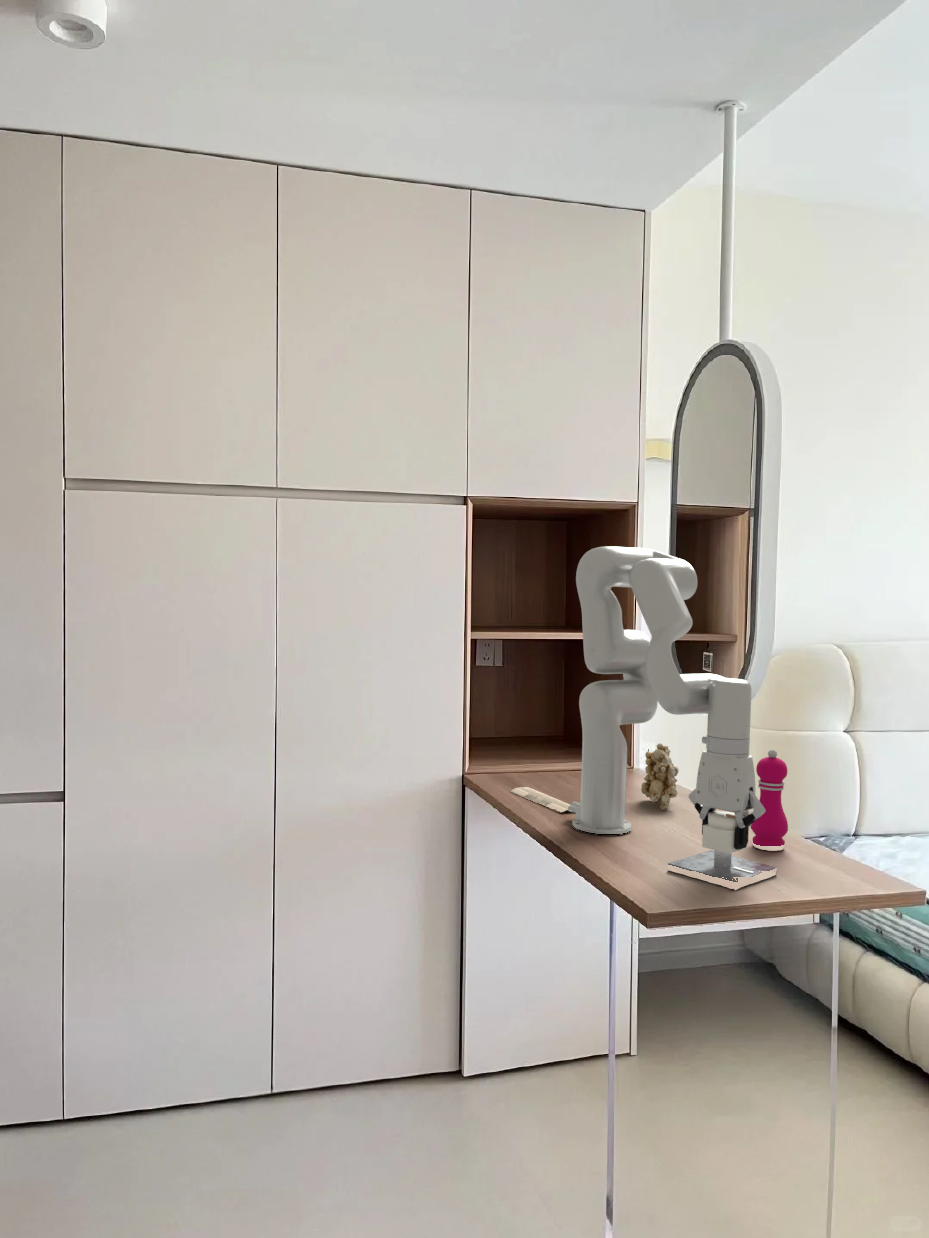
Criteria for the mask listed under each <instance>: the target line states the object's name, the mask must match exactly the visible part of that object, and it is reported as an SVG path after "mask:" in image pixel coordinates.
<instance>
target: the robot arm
mask: <svg viewBox="0 0 929 1238" xmlns="http://www.w3.org/2000/svg"><path fill="white" fill-rule="evenodd" d="M575 575H576V576H575V584H576V589H577V593H578V598H579V603H580V608H581V617H582V618H581V620H582V621H581V623H582V642H583V643H582V644H583V656H584V663H585V665H586V668H587V669H588V670H589V671H590V672H592V673H595V674H601V675H612V674H613V675H617V674H618V675H619V674H620V675H623V679H608V680H598V681H597V680H596V681H594V682H590V683H589V684H588V685H586V686H585V687H584V688H583V689H582V690H581V692H580V694H579V700H578V706H579V713H580V719H581V720H580V722H581V728H582V729H581V730H582V743H581V744H582V748H581V773H580V774H581V777H580V778H581V779H580V780H581V781H580V802H578V801H575V800H574V801H572V802H571V803H570V806H569V807H568V810H567V811H568V812H571V813H575V814H576V815H575V818H574V819H573V820H572V823H571V824H572V825H573V826H574V827H575V828H578V829H580V830H583V831H587V832H590V833H596V834H595V835H597V834H620V835H624V834H623V833H626V834H628V833H630V832H631V831H632V829H633V824H632V823H631V822H630V821H628V820H627V819H626V801H627V800H626V799H627V795H626V794H627V776H628V775H627V774H628V773H627V771H628V744H627V740H626V738H625V735H624V734H623V731H622V730H621V726H622V725H635V724H636V725H637V724H643V723H647V722H649V721H650V720H652V719H653V717H654V716H655V714H656V711H657V708H658V704H659V705H660V706H661V708H662V709H663V710H664V711H666V712H667V713H669V714H671V715H676V716H677V715H679V716H680V715H681V716H683V715H695V714H699V715H701V714H707V726H706V727H707V728H706V730H707V731H706V736H702V737H701V743H702V744H705V745H706V747H705V748H706V750H703V751H702V753H701V757H700V760H699V765H698V769H697V776H696V786H695V788H694V790H692V791H691V792H690V793H689V794H688V795H687V796H688V799H689V800H690V802H691V803H692V805H693V806H694V808H695V810H696V811H697V813H698V814H699V818H700V820H702V821H701V823H702V824H701V835H702V836H703V825H706V824H708V813H710V812H716V810H719V811H723V812H732V813H735V817H736V820H737V824H738V827H736V828H735V839H734V848H735V849H737V850H739V849H743V848H746V849H747V846H748V844H749V830H750V828H749V827H751V825H752V823H753V822H755V821H756V820H757V819H758V818H759V817H760V816H761V815H763V814H764V813H765V812H766V810H765V808H764V807H763V805H762V804H761V802H760V801H759V800H760V799H759V798H758V797H757V795H756V793H757V791H756V773H755V765H754V760H753V756H752V755H750V742H751V741H750V740H751V739H750V738H751V713H752V712H751V710H752V686H751V683H750V682H749V681H748V680H746V679H742V678H736V677H735V678H734V677H733V678H732V677H731V678H730V677H725V676H723V675H719V674H714V673H679V671H678V668H677V666H676V663H675V661H674V658H673V654H672V645H673V643H674V642H675V641H677V640H679V639H681V638H683V637H685V635H686V634H687V633H688V632H689V631H690V630H691V628H692V627H693V623H694V622H693V618H692V616H691V614H690V612H689V609H688V607H687V605H686V603H685V600H686V601H687V600H689V599H691V598H692V597H693V596H694V594H696V591H697V588H698V575H697V573H696V570H695V569H694V567H693V566H692V565H691V564H690V563H689V562H688V561H686V560H685V559H682V558H680V557H679V558H678V557H677V556H673V555H670V554H667V553H664V552H661V551H658V550H655V549H651V548H645V547H627V546H616V545H615V546H612V545H611V546H610V545H609V546H607V545H605V546H599V547H595V548H591V549H590V550H588V551H586V552H585V553H584V554H583V556H582V557H581V558H580V559H579V562H578V564H577V568H576V573H575ZM613 587H615V588H616V587H617V588H631V590H632V593H633V595H634V597H635V600H636V602H637V605H638V607H639V610H640V613H641V614H642V617H643V619H644V621H645V625H646V627H647V629H648V631H649V634H650V637H649V636H648V635H647V634H646V633H645V632H643V631H641V630H637V629H624V625H623V611H622V610H623V609H622V607H621V604H620V602H619V600H618V598H617V596H616V595H615V593H614V592H613V590H612V588H613ZM749 810H752V812H751V813H750V812H749ZM572 825H571V826H572ZM573 826H572V827H573ZM574 827H573V828H574ZM575 828H574V829H575ZM629 831H630V832H629ZM627 832H628V833H627ZM590 833H589V834H590ZM743 850H744V849H743Z"/></svg>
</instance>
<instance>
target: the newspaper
mask: <svg viewBox="0 0 929 1238" xmlns="http://www.w3.org/2000/svg"><path fill="white" fill-rule="evenodd" d="M510 793H511V794H514V795H517V796H519V797H521V798H523V797H524V798H523V799H525V798H526V799H525V800H527V799H528V801H530V800H531V801H530V802H532V801H533V803H534V802H535V803H534V804H537V803H539V804H542V805H544V806H546V807H549V808H551V809H556V810H557V811H560V812H563V813H564V812H567V811H568V807H569V806H570V805H571V803H570V804H569V803H567V802H564V801H563V800H560V799H558V798H555V797H553V796H550V795H548V794H546V793H543V792H541V791H539V790H536V789H533V788H531V787H528V786H527V787H526V786H520V787H515V788H513V789H511V790H510ZM539 804H538V805H539ZM546 807H545V808H546Z"/></svg>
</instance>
